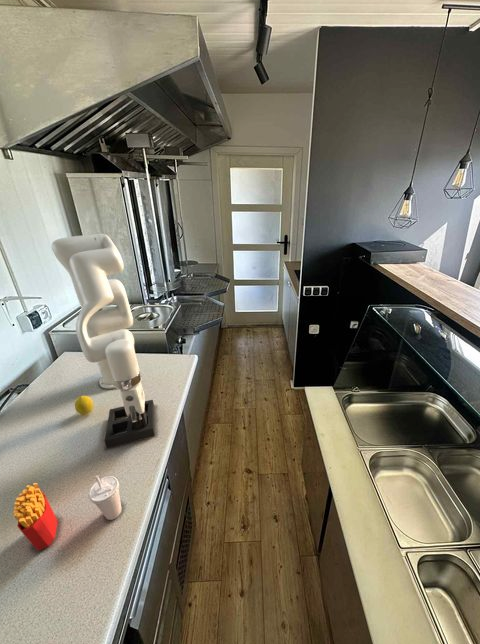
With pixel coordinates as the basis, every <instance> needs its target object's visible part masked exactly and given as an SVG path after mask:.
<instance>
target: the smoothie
mask: <svg viewBox="0 0 480 644" xmlns="http://www.w3.org/2000/svg"><path fill="white" fill-rule="evenodd" d="M94 477H95V479H96V482H94V484H93V485H91V488H90V489H89V493H88V497H89V501H90V502H91V503H92V504H94V505H96V507H97V508H98V509H99V511H100V513H102V515H103V516H104V517H105V519H106V520H108V521H112V520H115V519H117V518H118V517H119V516H120V514H121V512H122V503H121V497H120V491H119V490H120V489H119V488H120V483H119V482H120V481H118V479H117V478H116V477H115V476H112V475H109V476H104V477H102V478H100V477H99V475H98V474H97V475H95V476H94Z"/></svg>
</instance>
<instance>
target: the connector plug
mask: <svg viewBox="0 0 480 644" xmlns="http://www.w3.org/2000/svg"><path fill="white" fill-rule="evenodd" d="M146 413H147V411H146V412H145V409H144V413H143V414H141V417H143V420H144V424H145V427H146V426H148V424H147V416H146ZM136 416H139V415H138V414H136ZM130 419H131V414H130ZM131 422H132V419H131ZM132 425H133V423H132ZM133 429H134V426H133ZM134 430H135V429H134Z"/></svg>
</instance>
